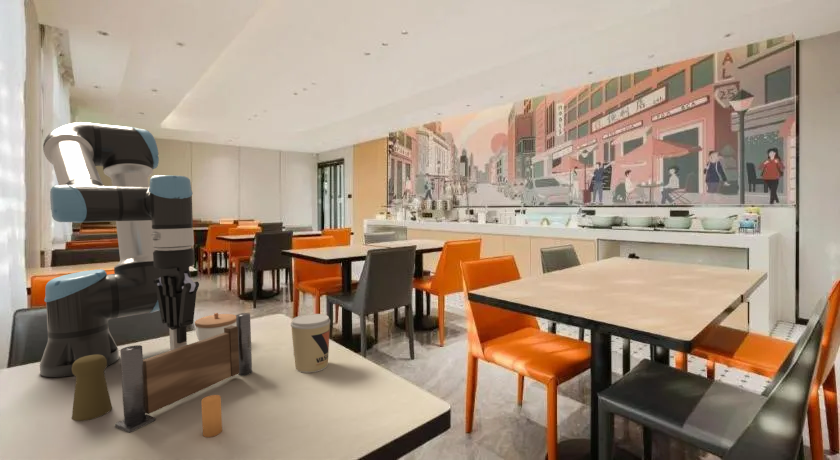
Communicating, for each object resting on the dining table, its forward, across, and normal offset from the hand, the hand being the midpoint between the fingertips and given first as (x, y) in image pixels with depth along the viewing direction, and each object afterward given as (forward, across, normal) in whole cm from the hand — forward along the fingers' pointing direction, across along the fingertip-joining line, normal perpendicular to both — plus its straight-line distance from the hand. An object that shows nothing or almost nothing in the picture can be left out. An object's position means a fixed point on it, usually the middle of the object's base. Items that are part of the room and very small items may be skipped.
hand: (179, 356), depth 87 cm
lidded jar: (+7, -18, +21) cm, 29 cm away
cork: (+7, -5, -14) cm, 17 cm away
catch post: (+7, +22, -8) cm, 25 cm away
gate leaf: (+6, +6, 0) cm, 9 cm away
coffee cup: (+7, +17, +22) cm, 29 cm away
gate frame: (+7, +6, -1) cm, 10 cm away
